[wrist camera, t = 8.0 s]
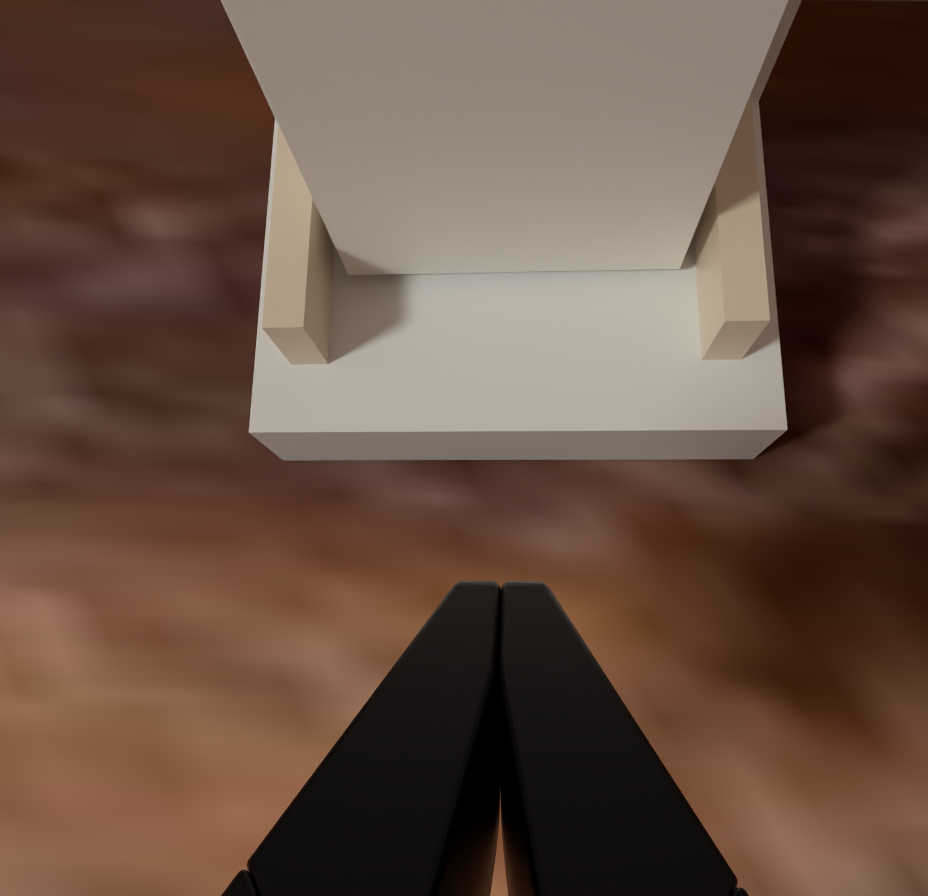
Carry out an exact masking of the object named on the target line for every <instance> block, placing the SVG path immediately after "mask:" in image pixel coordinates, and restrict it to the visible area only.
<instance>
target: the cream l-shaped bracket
mask: <svg viewBox="0 0 928 896" xmlns="http://www.w3.org/2000/svg"><path fill="white" fill-rule="evenodd" d="M801 1H802V0H788V3H787V5H786V8H785V10H784V13H783V15H782V17H781V20H780V22H779V25H778V27H777V30H776V32H775V35H774V37H773V40H772V42H771V45H770V47H769V50H768V52H767V55H766V57H765V59H764V62H763V64H762V67H761V69H760V72H759V74H758V77H757V79H756V82H755V84H754V87H753V89H752V92H751V94H750V96H749V99H748V101H747V104H746V106H745V109H744V111H743V114H742V116H741V119H740V121H739V124H738V126H737V129H736V131H735V134H734V136H733V138H732V141H731V143H730V146H729V148H728V151H727V153H726V156H725V158H724V161H723V163H722V166H721V168H720V171H719V173H718V175H717V178H716V180H715V183H714V185H713V188H712V190H711V193H710V195H709V198H708V200H707V203H706V205H705V208H704V210H703V213H702V215H701V217H700V220H699V222H698V225H697V227H696V230H695V232H694V235H693V237H692V240H691V242H690V245H689V247H688V250H687V252H686V254H685V257H684V259H683V262H682V264H681V267H680V269H643V270H591V271H540V272H488V273H436V274H385V275H348V274H347V271H346V269H345V267H344V265H343V263H342V261H341V258H340V256H339V254H338V252H337V250H336V248H335V245H334V243H333V241H332V239H331V237H330V235H329V232H328V230H327V228H326V226H325V224H324V222H323V219H322V217H321V215H320V213H319V211H318V209H317V206H316V204H315V202H314V200H313V198H312V196H311V193H310V191H309V189H308V187H307V185H306V183H305V180H304V178H303V176H302V174H301V172H300V169H299V167H298V165H297V163H296V161H295V159H294V156H293V154H292V152H291V150H290V148H289V146H288V143H287V141H286V139H285V137H284V135H283V133H282V130H281V128H280V126H279V124H278V122H277V120H276V117H275V115H274V117H275V126H274V138H273V150H272V162H271V174H270V186H269V198H268V210H267V222H266V234H265V246H264V258H263V270H262V282H261V294H260V306H259V318H258V330H257V342H256V354H255V366H254V378H253V390H252V402H251V414H250V426H249V433H250V434H251V435H253V436H254V437H255V438H256V439H258V440H259V441H260V442H261V443H262V444H264V445H265V446H266V447H267V448H269V449H270V450H271V451H272V452H274V453H275V454H276V455H277V456H278V457H280V458H281V459H282V460H613V459H754V458H755V457H756V456H757V455H759V454H760V453H761V452H762V451H763V450H764V449H766V448H767V447H768V446H769V445H770V444H771V443H773V442H774V441H775V440H776V439H777V438H778V437H780V436H781V435H782V434H783V433H784V432H786V431H787V430H788V429H787V418H786V407H785V395H784V384H783V373H782V361H781V350H780V339H779V327H778V316H777V305H776V293H775V282H774V271H773V259H772V248H771V237H770V225H769V214H768V203H767V191H766V180H765V168H764V157H763V146H762V134H761V123H760V112H759V100H760V97H761V95H762V93H763V90H764V88H765V85H766V83H767V81H768V78H769V76H770V74H771V71H772V69H773V67H774V64H775V62H776V60H777V57H778V55H779V53H780V50H781V48H782V45H783V43H784V41H785V38H786V36H787V34H788V31H789V29H790V27H791V24H792V22H793V20H794V17H795V15H796V13H797V10H798V8H799V6H800V3H801ZM221 2H222V0H221ZM222 4H223V2H222ZM223 6H224V5H223ZM224 8H225V7H224ZM225 10H226V9H225ZM226 13H227V11H226ZM227 15H228V13H227ZM228 17H229V15H228ZM229 19H230V18H229ZM230 21H231V20H230ZM231 23H232V22H231ZM232 26H233V24H232ZM233 28H234V26H233ZM234 30H235V28H234ZM235 32H236V31H235ZM236 34H237V33H236ZM237 36H238V35H237ZM238 39H239V37H238ZM239 41H240V39H239ZM240 43H241V41H240ZM241 45H242V44H241ZM242 47H243V46H242ZM243 49H244V48H243ZM244 52H245V50H244ZM245 54H246V52H245ZM246 56H247V55H246ZM247 58H248V57H247ZM248 60H249V59H248ZM249 62H250V61H249ZM250 65H251V63H250ZM251 67H252V65H251ZM252 69H253V68H252ZM253 71H254V70H253ZM254 73H255V72H254ZM255 75H256V74H255ZM256 78H257V76H256ZM257 80H258V78H257ZM258 82H259V81H258ZM259 84H260V83H259ZM260 86H261V85H260ZM261 88H262V87H261ZM262 91H263V89H262ZM263 93H264V91H263ZM264 95H265V94H264ZM265 97H266V96H265ZM266 99H267V98H266ZM267 101H268V100H267ZM268 104H269V102H268ZM269 106H270V104H269ZM270 108H271V107H270ZM271 110H272V109H271ZM272 112H273V111H272ZM273 114H274V113H273Z"/></svg>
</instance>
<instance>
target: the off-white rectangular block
mask: <svg viewBox="0 0 928 896" xmlns="http://www.w3.org/2000/svg"><path fill="white" fill-rule="evenodd" d="M222 2H223V5H224V7H225V9H226V11H227V13H228V15H229V18H230V20H231V22H232V24H233V26H234V28H235V31H236V33H237V35H238V37H239V39H240V41H241V44H242V46H243V48H244V50H245V52H246V55H247V57H248V59H249V61H250V63H251V65H252V68H253V70H254V72H255V74H256V76H257V78H258V81H259V83H260V85H261V87H262V89H263V91H264V94H265V96H266V98H267V100H268V102H269V104H270V107H271V109H272V111H273V113H274V115H275V117H276V120H277V122H278V124H279V126H280V128H281V130H282V133H283V135H284V137H285V139H286V141H287V143H288V146H289V148H290V150H291V152H292V154H293V156H294V159H295V161H296V163H297V165H298V167H299V169H300V172H301V174H302V176H303V178H304V180H305V183H306V185H307V187H308V189H309V191H310V193H311V196H312V198H313V200H314V202H315V204H316V206H317V209H318V211H319V213H320V215H321V217H322V219H323V222H324V224H325V226H326V228H327V230H328V232H329V235H330V237H331V239H332V241H333V243H334V245H335V248H336V250H337V252H338V254H339V256H340V258H341V261H342V263H343V265H344V267H345V269H346V271H347V274H348V275H385V274H436V273H488V272H540V271H591V270H643V269H680V267H681V264H682V262H683V259H684V257H685V254H686V252H687V250H688V247H689V245H690V242H691V240H692V237H693V235H694V232H695V230H696V227H697V225H698V222H699V220H700V217H701V215H702V213H703V210H704V208H705V205H706V203H707V200H708V198H709V195H710V193H711V190H712V188H713V185H714V183H715V180H716V178H717V175H718V173H719V171H720V168H721V166H722V163H723V161H724V158H725V156H726V153H727V151H728V148H729V146H730V143H731V141H732V138H733V136H734V134H735V131H736V129H737V126H738V124H739V121H740V119H741V116H742V114H743V111H744V109H745V106H746V104H747V101H748V99H749V96H750V94H751V92H752V89H753V87H754V84H755V82H756V79H757V77H758V74H759V72H760V69H761V67H762V64H763V62H764V59H765V57H766V55H767V52H768V50H769V47H770V45H771V42H772V40H773V37H774V35H775V32H776V30H777V27H778V25H779V22H780V20H781V17H782V15H783V13H784V10H785V8H786V5H787V3H788V0H222Z"/></svg>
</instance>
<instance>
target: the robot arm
mask: <svg viewBox="0 0 928 896" xmlns="http://www.w3.org/2000/svg"><path fill="white" fill-rule="evenodd" d="M500 791H501V824H502V837H503V850H504V859H505V869H506V878H507V888H508V896H749V895H748V894H747V892H746V891H745V890H744V889H743V888H737V883H738V881H737V878H736V876H735V874H734V873H733V871H732V870H731V868H730V867H729V865H728V864H727V862H726V860H725V859H724V857H723V856H722V854H721V853H720V851H719V850H718V848H717V847H716V845H715V843H714V842H713V840H712V839H711V837H710V836H709V834H708V833H707V831H706V830H705V828H704V826H703V825H702V823H701V822H700V820H699V819H698V817H697V816H696V814H695V813H694V811H693V809H692V808H691V806H690V805H689V803H688V802H687V800H686V799H685V797H684V795H683V794H682V792H681V791H680V789H679V788H678V786H677V785H676V783H675V782H674V780H673V778H672V777H671V775H670V774H669V772H668V771H667V769H666V768H665V766H664V765H663V763H662V761H661V760H660V758H659V757H658V755H657V754H656V752H655V751H654V749H653V748H652V746H651V744H650V743H649V741H648V740H647V738H646V737H645V735H644V734H643V732H642V731H641V729H640V727H639V726H638V724H637V723H636V721H635V720H634V718H633V717H632V715H631V714H630V712H629V710H628V709H627V707H626V706H625V704H624V703H623V701H622V700H621V698H620V696H619V695H618V693H617V692H616V690H615V689H614V687H613V686H612V684H611V683H610V681H609V679H608V678H607V676H606V675H605V673H604V672H603V670H602V669H601V667H600V666H599V664H598V662H597V661H596V659H595V658H594V656H593V655H592V653H591V652H590V650H589V649H588V647H587V645H586V644H585V642H584V641H583V639H582V638H581V636H580V635H579V633H578V632H577V630H576V628H575V627H574V625H573V624H572V622H571V621H570V619H569V618H568V616H567V614H566V613H565V611H564V610H563V608H562V607H561V605H560V604H559V602H558V601H557V599H556V597H555V596H554V594H553V593H552V591H551V590H550V588H549V587H548V586H547V585H546V584H545V583H543V582H525V581H509V582H506V583H504V584H503V586H502V589H501V588H500V586H499V584H498V583H497V582H494V581H460V582H458V583H456V584H455V585H454V586H453V587H452V589H451V590H450V591H449V593H448V594H447V595H446V597H445V598H444V599H443V601H442V602H441V603H440V605H439V606H438V607H437V609H436V610H435V611H434V613H433V614H432V615H431V617H430V618H429V619H428V621H427V622H426V623H425V625H424V626H423V627H422V629H421V630H420V631H419V633H418V634H417V635H416V637H415V638H414V639H413V641H412V642H411V643H410V645H409V646H408V647H407V649H406V650H405V651H404V653H403V654H402V655H401V657H400V658H399V659H398V661H397V662H396V663H395V665H394V666H393V667H392V669H391V670H390V671H389V673H388V674H387V675H386V677H385V678H384V679H383V681H382V682H381V683H380V685H379V686H378V687H377V689H376V690H375V691H374V693H373V694H372V696H371V697H370V698H369V700H368V701H367V702H366V704H365V705H364V706H363V708H362V709H361V710H360V712H359V713H358V714H357V716H356V717H355V718H354V720H353V721H352V722H351V724H350V725H349V726H348V728H347V729H346V730H345V732H344V733H343V734H342V736H341V737H340V738H339V740H338V741H337V742H336V744H335V745H334V746H333V748H332V749H331V750H330V752H329V753H328V754H327V756H326V757H325V758H324V760H323V761H322V762H321V764H320V765H319V766H318V768H317V769H316V770H315V772H314V773H313V774H312V776H311V777H310V778H309V780H308V781H307V782H306V784H305V785H304V786H303V788H302V789H301V790H300V792H299V793H298V794H297V796H296V797H295V798H294V800H293V801H292V802H291V804H290V805H289V806H288V808H287V809H286V810H285V812H284V813H283V814H282V816H281V817H280V818H279V820H278V821H277V823H276V824H275V825H274V827H273V828H272V829H271V831H270V832H269V833H268V835H267V836H266V837H265V839H264V840H263V841H262V843H261V844H260V845H259V847H258V848H257V849H256V851H255V852H254V853H253V855H252V856H251V857H250V859H249V860H248V862H247V868H248V871H249V872H248V871H247V870H241V871H240V872H239V873H238V874H237V875H236V876H235V878H234V879H233V880H232V882H231V883H230V885H229V886H228V887H227V889H226V890H225V891H224V893H223V894H222V895H221V896H490V893H491V886H492V878H493V871H494V863H495V856H496V848H497V839H498V830H499V817H500Z"/></svg>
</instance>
